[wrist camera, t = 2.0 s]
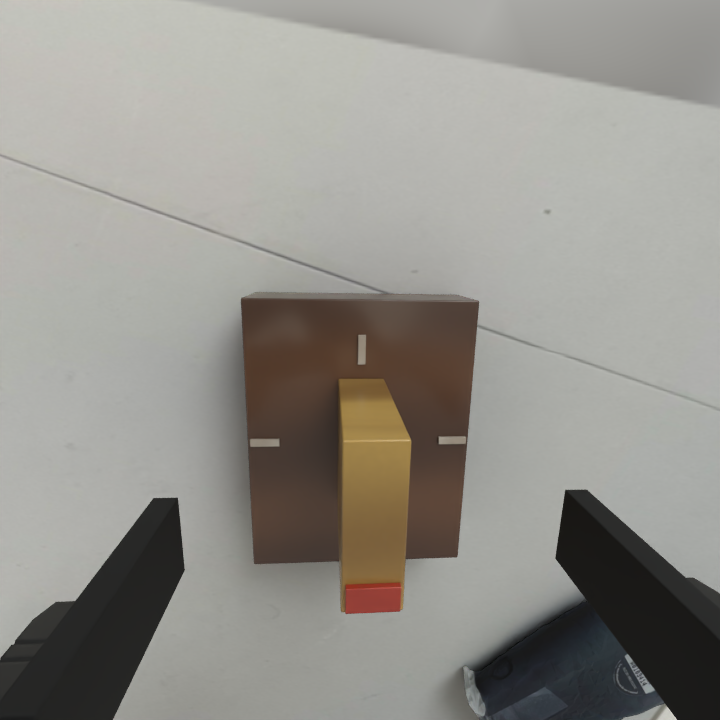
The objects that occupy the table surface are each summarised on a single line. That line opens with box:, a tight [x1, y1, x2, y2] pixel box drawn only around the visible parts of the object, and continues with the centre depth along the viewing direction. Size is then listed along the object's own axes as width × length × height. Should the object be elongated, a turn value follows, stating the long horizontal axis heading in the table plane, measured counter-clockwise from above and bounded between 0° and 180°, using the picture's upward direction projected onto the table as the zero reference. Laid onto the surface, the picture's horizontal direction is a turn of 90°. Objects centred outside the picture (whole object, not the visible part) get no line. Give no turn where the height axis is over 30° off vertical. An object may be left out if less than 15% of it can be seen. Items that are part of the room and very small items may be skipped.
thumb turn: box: [338, 379, 411, 614], centre depth 17 cm, size 6×2×7 cm, turn 179°
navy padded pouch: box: [463, 602, 664, 720], centre depth 27 cm, size 9×6×15 cm
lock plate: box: [241, 292, 479, 564], centre depth 22 cm, size 14×11×4 cm
